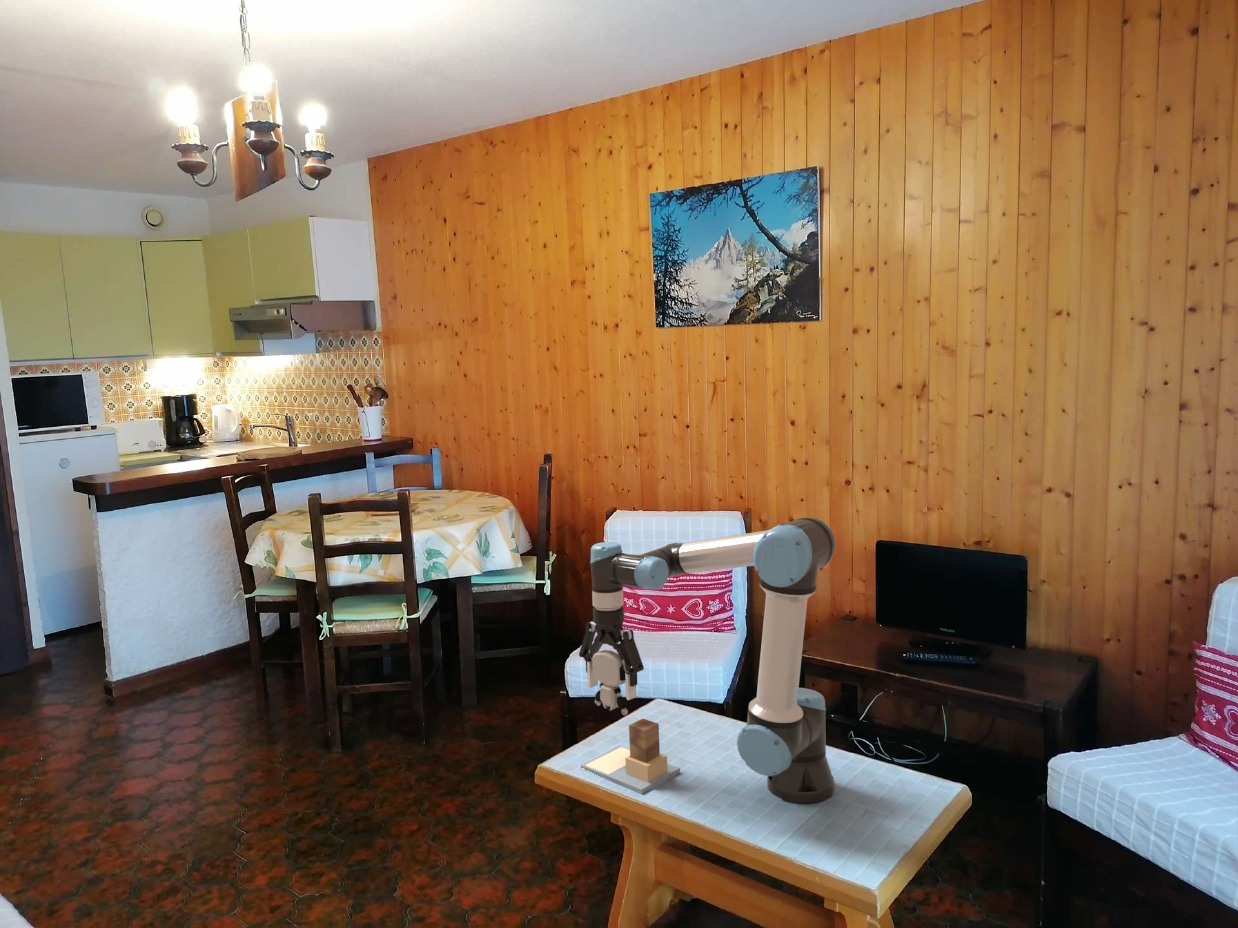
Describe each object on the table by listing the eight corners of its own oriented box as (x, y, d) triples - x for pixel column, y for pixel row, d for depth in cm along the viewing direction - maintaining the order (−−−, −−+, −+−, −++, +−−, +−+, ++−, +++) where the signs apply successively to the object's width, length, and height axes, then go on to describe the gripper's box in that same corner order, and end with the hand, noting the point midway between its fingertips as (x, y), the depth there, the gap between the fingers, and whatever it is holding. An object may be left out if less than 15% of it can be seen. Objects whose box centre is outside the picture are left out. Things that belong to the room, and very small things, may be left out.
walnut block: (659, 755, 209) (658, 723, 208) (645, 763, 206) (644, 730, 205) (644, 749, 213) (642, 718, 212) (630, 757, 209) (628, 724, 208)
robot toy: (637, 713, 212) (634, 653, 211) (623, 719, 209) (621, 658, 207) (602, 701, 221) (599, 643, 219) (589, 706, 218) (586, 648, 216)
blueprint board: (680, 772, 211) (679, 751, 211) (641, 794, 201) (640, 772, 201) (619, 749, 225) (619, 730, 225) (580, 769, 215) (579, 749, 214)
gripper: (656, 611, 206) (659, 698, 209) (584, 595, 223) (587, 676, 226) (635, 618, 201) (638, 708, 204) (562, 601, 218) (566, 685, 220)
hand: (611, 692), depth 215 cm, fingers closed on robot toy, 12 cm apart
